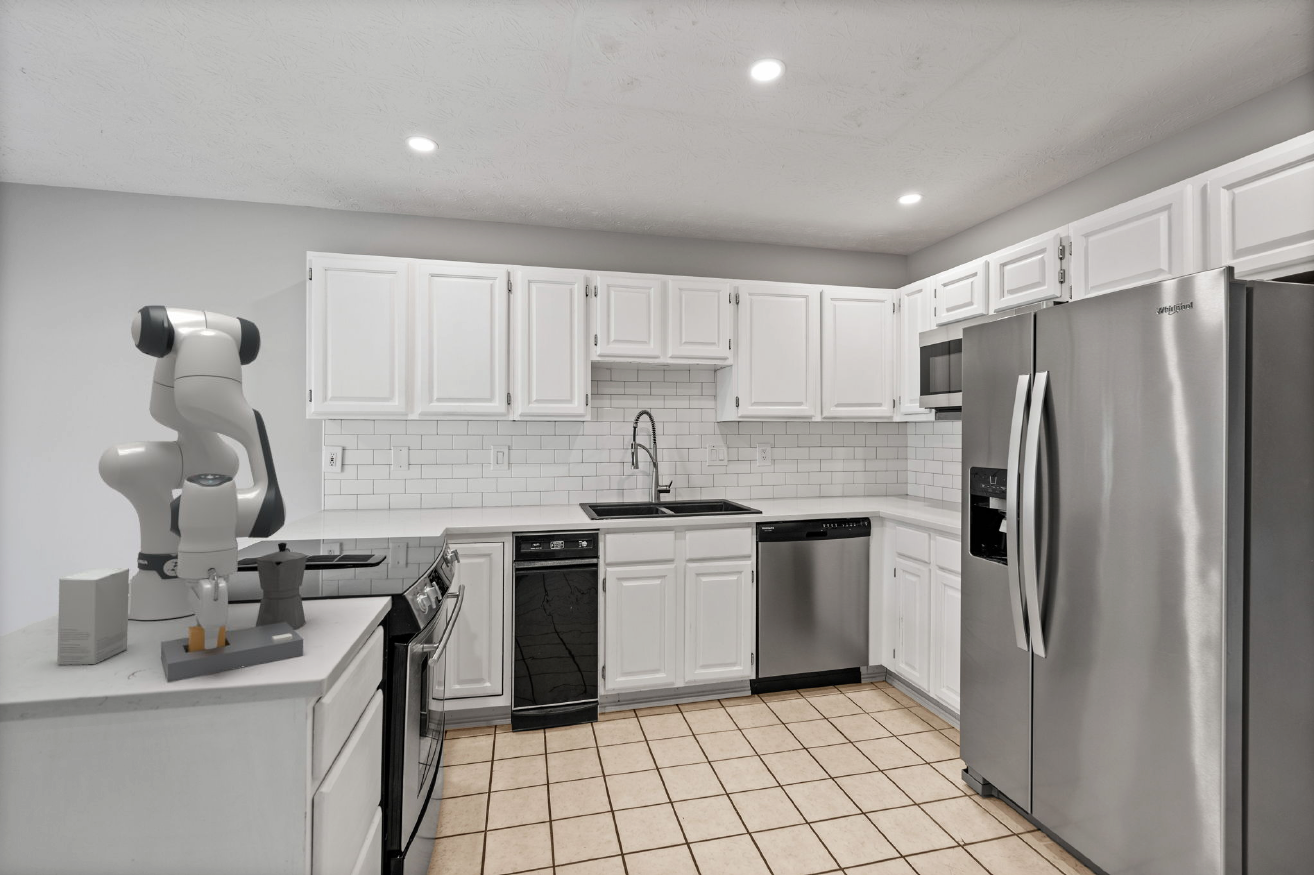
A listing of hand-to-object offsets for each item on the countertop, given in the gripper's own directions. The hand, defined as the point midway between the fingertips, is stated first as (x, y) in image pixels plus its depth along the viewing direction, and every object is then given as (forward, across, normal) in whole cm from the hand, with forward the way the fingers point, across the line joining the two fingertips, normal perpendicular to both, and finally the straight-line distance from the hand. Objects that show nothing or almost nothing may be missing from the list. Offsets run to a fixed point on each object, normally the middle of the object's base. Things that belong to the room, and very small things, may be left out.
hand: (206, 640), depth 112 cm
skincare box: (+4, +15, +15) cm, 22 cm away
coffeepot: (+4, +16, -15) cm, 22 cm away
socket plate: (+4, 0, -4) cm, 6 cm away
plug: (+3, 0, 0) cm, 3 cm away
